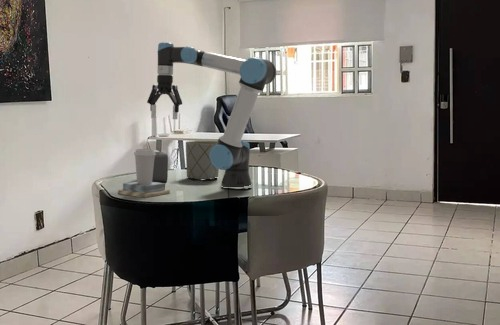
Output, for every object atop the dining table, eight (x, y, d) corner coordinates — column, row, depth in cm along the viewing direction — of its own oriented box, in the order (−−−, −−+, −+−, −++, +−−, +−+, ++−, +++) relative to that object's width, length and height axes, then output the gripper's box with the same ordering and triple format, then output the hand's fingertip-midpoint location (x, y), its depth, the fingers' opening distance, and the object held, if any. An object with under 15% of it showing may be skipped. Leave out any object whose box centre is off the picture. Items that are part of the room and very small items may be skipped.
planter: (177, 178, 308) (178, 141, 306) (202, 175, 322) (203, 140, 320) (202, 182, 295) (203, 144, 293) (227, 179, 310) (228, 143, 308)
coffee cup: (136, 185, 246) (136, 150, 245) (131, 182, 255) (132, 148, 253) (157, 184, 250) (158, 150, 249) (152, 181, 259) (153, 149, 257)
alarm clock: (167, 182, 290) (168, 152, 288) (145, 182, 286) (145, 152, 284) (161, 178, 305) (161, 149, 304) (140, 178, 301) (140, 149, 300)
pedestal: (169, 193, 256) (169, 183, 255) (145, 197, 242) (145, 187, 241) (142, 189, 264) (142, 180, 263) (118, 193, 250) (118, 183, 250)
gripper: (140, 74, 280) (139, 117, 282) (180, 74, 267) (179, 119, 269) (150, 75, 286) (149, 117, 288) (190, 75, 273) (189, 119, 275)
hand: (164, 118), depth 279 cm, fingers open, 13 cm apart
